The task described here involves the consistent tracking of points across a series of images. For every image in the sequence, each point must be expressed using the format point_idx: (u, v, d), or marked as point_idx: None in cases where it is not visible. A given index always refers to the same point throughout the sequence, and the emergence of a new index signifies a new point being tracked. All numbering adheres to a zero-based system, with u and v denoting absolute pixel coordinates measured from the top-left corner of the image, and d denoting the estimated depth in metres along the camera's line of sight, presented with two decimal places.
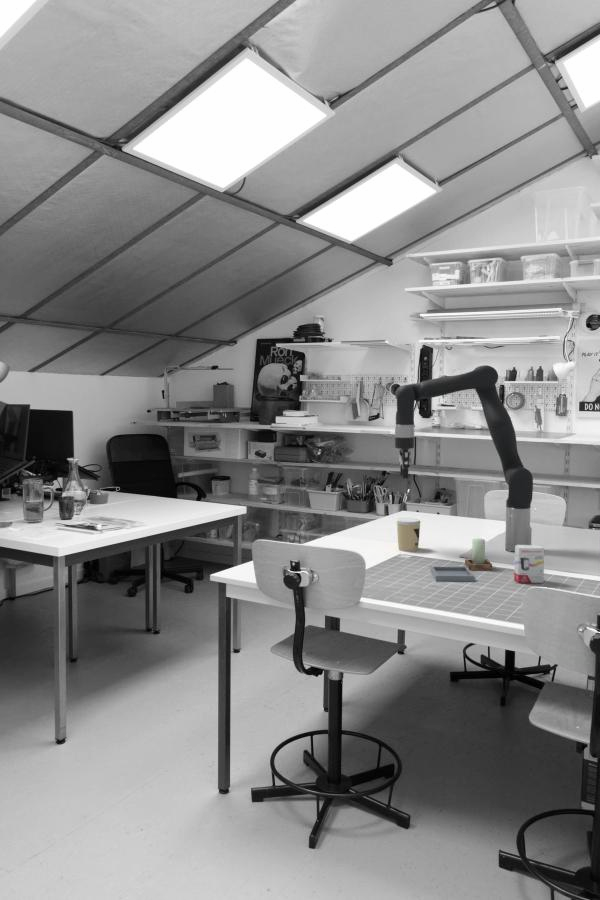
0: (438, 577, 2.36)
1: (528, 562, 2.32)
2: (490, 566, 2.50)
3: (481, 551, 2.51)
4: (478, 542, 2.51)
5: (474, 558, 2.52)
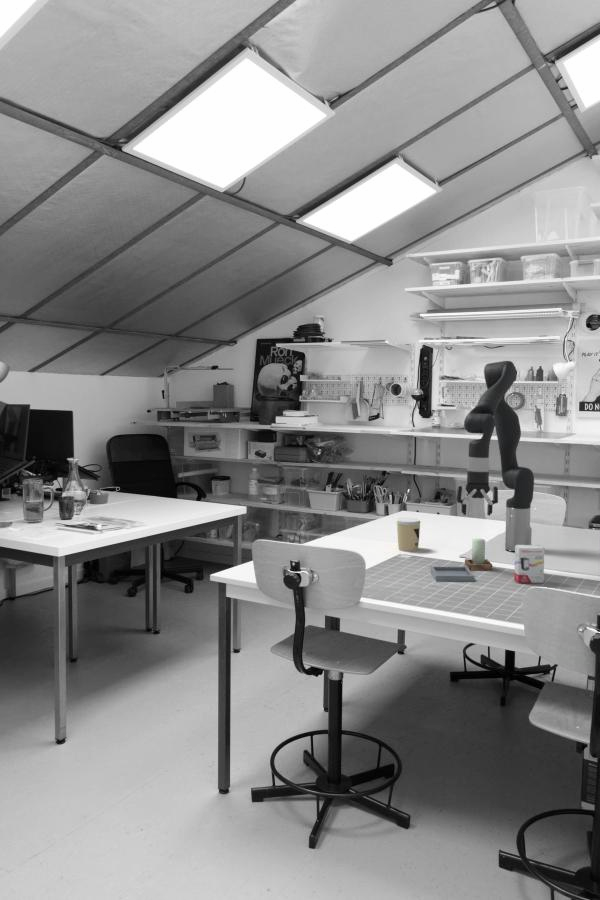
0: (438, 577, 2.36)
1: (529, 562, 2.32)
2: (490, 566, 2.50)
3: (481, 551, 2.51)
4: (478, 542, 2.51)
5: (474, 558, 2.52)
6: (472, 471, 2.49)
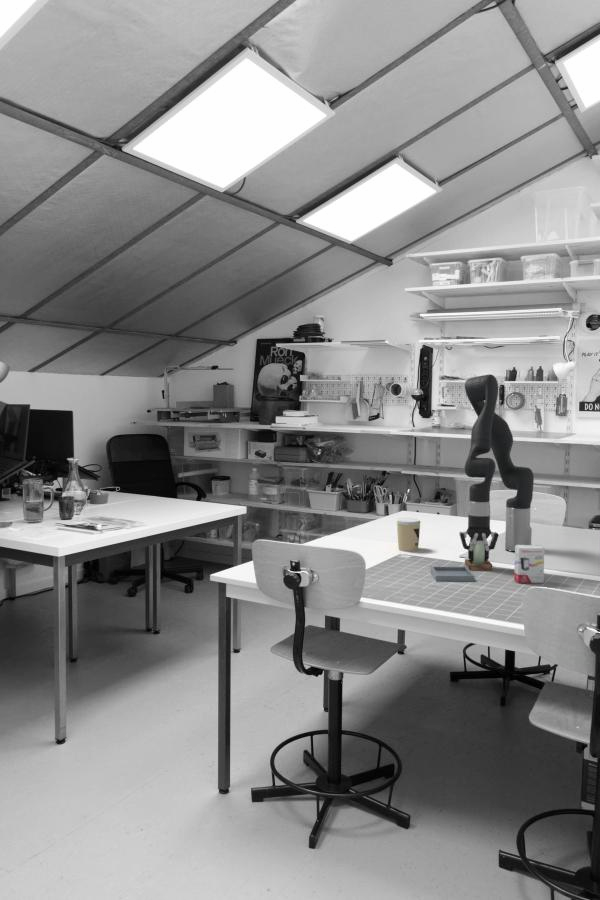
0: (438, 577, 2.36)
1: (528, 562, 2.32)
2: (490, 566, 2.50)
3: (481, 551, 2.51)
4: (478, 542, 2.51)
5: (474, 558, 2.52)
6: (473, 515, 2.50)
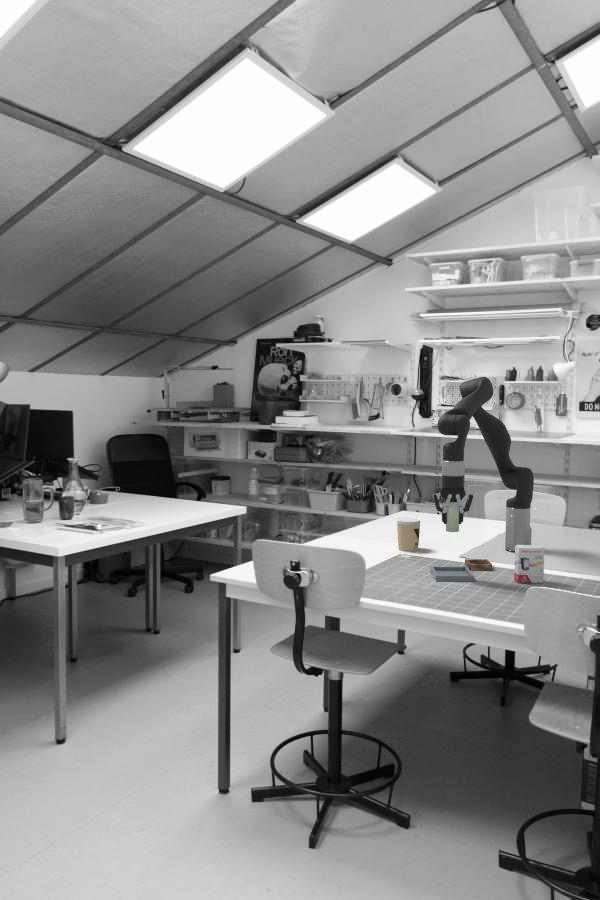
0: (438, 577, 2.36)
1: (529, 562, 2.32)
2: (490, 566, 2.50)
3: (455, 513, 2.38)
4: (452, 504, 2.38)
5: (448, 521, 2.39)
6: (447, 475, 2.36)
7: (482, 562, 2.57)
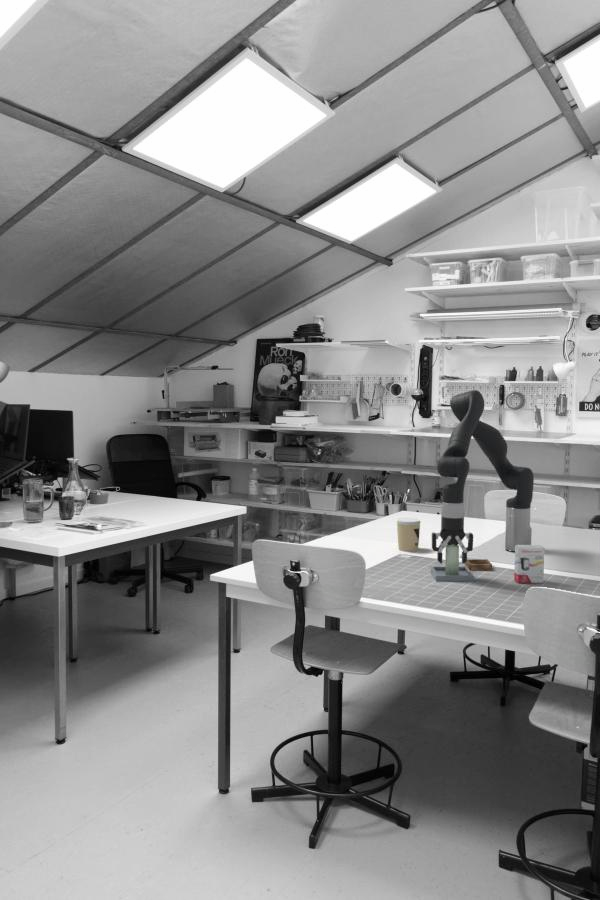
0: (438, 577, 2.36)
1: (528, 562, 2.32)
2: (490, 566, 2.50)
3: (454, 558, 2.39)
4: (451, 548, 2.39)
5: (447, 565, 2.40)
6: (446, 517, 2.37)
7: (482, 562, 2.57)
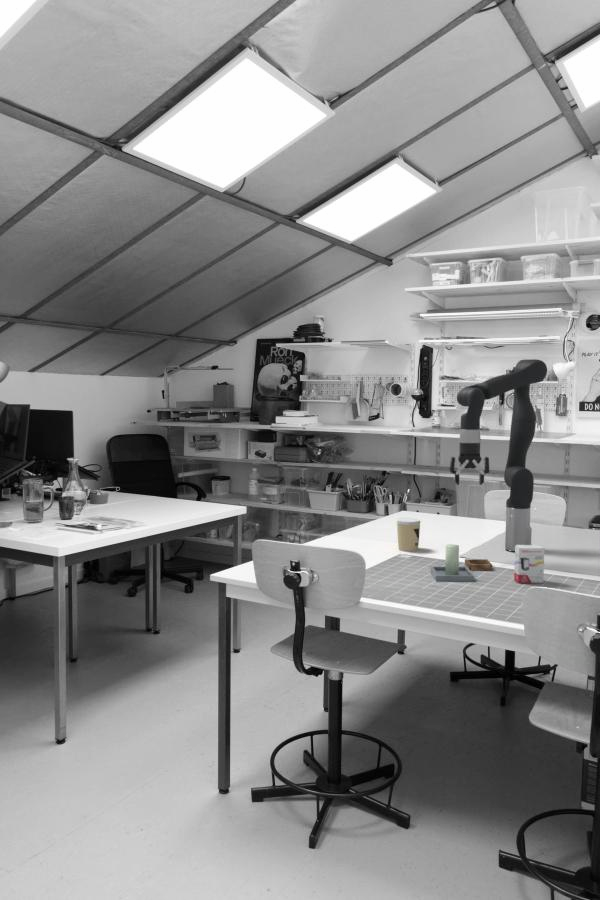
0: (438, 577, 2.36)
1: (529, 562, 2.32)
2: (490, 566, 2.50)
3: (454, 558, 2.39)
4: (451, 548, 2.39)
5: (447, 565, 2.40)
6: (464, 443, 2.61)
7: (482, 562, 2.57)
